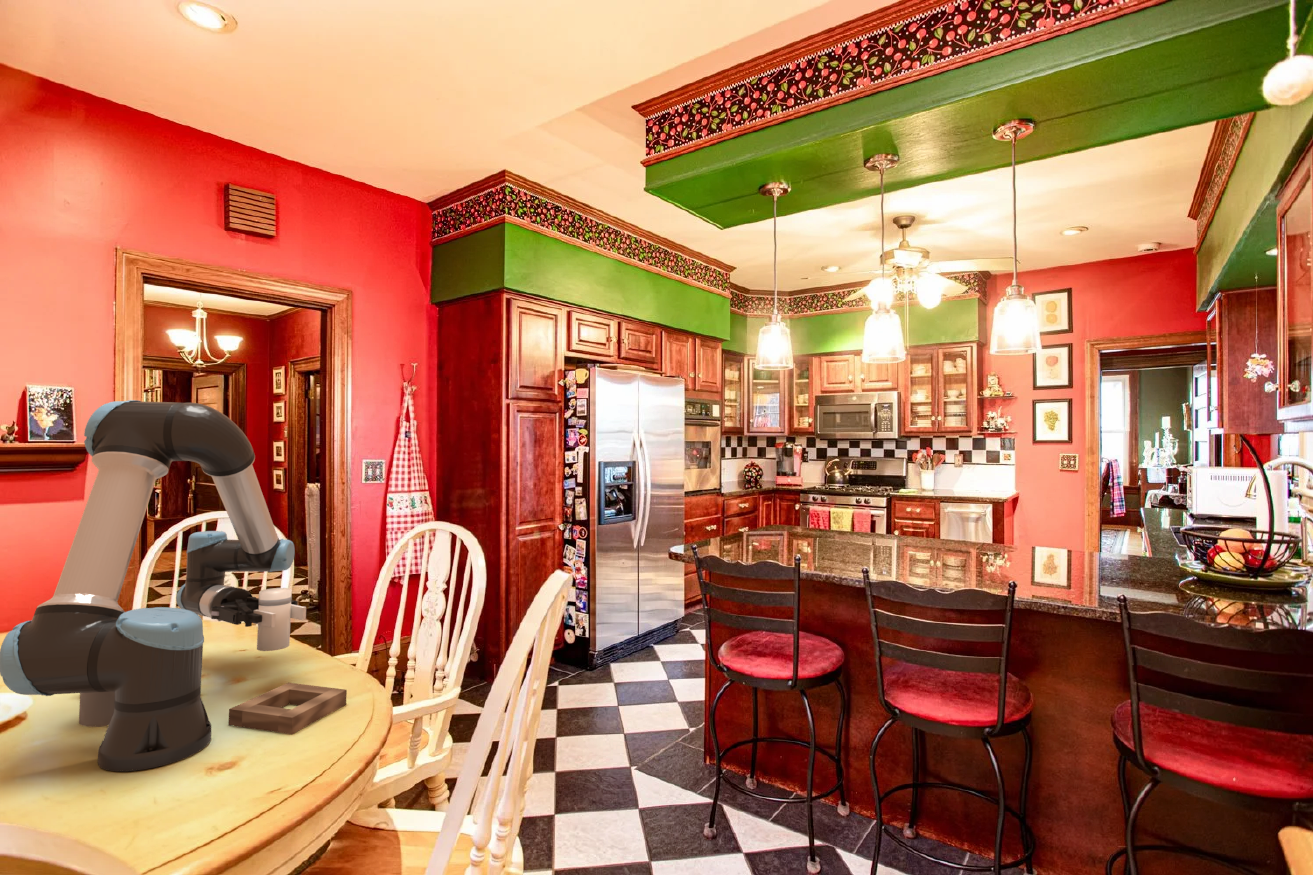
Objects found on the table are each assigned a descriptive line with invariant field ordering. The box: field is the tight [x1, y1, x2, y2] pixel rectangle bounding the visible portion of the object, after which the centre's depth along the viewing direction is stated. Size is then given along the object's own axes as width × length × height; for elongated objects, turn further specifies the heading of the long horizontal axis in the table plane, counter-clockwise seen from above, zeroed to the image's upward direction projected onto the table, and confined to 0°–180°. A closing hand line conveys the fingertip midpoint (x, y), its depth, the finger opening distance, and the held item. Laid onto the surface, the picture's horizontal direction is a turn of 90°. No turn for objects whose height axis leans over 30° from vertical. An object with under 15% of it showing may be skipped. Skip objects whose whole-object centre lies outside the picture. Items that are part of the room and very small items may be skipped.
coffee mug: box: [78, 692, 115, 728], centre depth 122 cm, size 13×10×10 cm
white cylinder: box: [256, 587, 293, 652], centre depth 136 cm, size 6×6×12 cm
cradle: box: [228, 682, 348, 735], centre depth 123 cm, size 14×14×3 cm
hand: (289, 616), depth 134 cm, fingers closed on white cylinder, 6 cm apart
